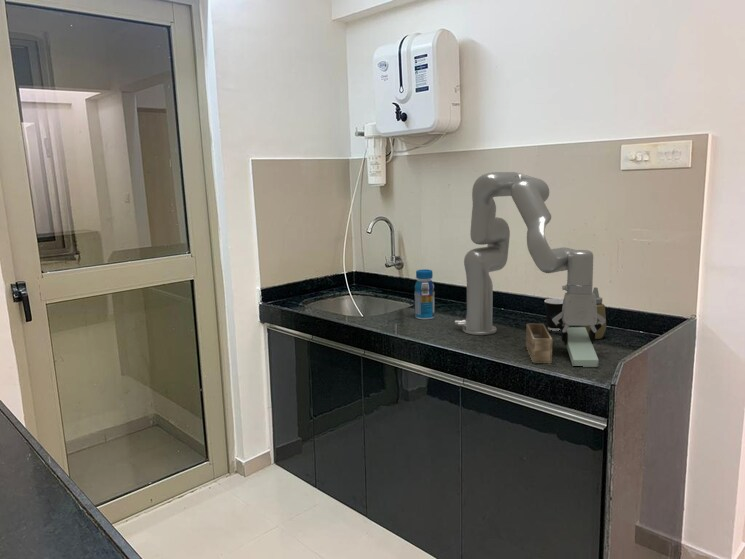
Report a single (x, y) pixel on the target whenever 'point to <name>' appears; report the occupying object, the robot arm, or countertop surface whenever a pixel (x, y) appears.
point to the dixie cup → (553, 312)
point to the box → (539, 343)
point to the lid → (581, 348)
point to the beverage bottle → (424, 295)
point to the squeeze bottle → (601, 312)
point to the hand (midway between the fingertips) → (578, 343)
